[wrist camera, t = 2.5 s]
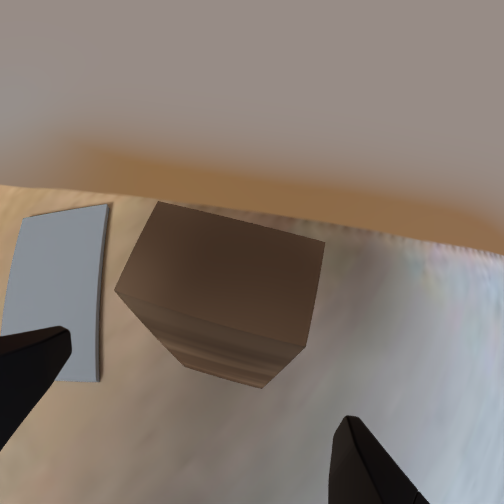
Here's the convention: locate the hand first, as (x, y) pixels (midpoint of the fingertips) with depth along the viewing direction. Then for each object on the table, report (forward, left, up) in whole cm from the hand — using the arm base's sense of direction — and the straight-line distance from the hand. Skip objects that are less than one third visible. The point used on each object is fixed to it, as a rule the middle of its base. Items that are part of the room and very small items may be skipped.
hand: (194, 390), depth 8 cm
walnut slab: (+2, -3, -10) cm, 11 cm away
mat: (+14, +5, -10) cm, 18 cm away
